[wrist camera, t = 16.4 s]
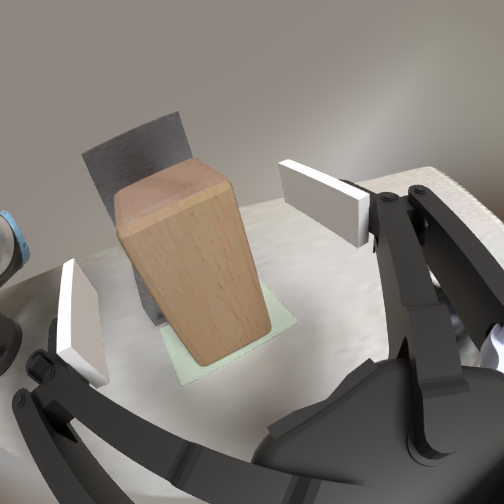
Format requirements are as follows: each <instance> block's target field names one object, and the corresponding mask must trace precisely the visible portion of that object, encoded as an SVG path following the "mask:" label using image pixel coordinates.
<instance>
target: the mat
mask: <svg viewBox="0 0 504 504" xmlns="http://www.w3.org/2000/svg"><path fill="white" fill-rule="evenodd" d="M258 279H259V278H258ZM259 282H260V286H261V289H262V293H263V296H264V300H265V303H266V307H267V310H268V314H269V317H270V321H271V326H272V329H271V331H270V332H269V333H268V334H267V335H265V336H263V337H261V338H260V339H258V340H256V341H254V342H252V343H250V344H249V345H247V346H245V347H243V348H241V349H239V350H237V351H236V352H234V353H232V354H230V355H228V356H226V357H224V358H222V359H220V360H218V361H216V362H214V363H212V364H210V365H208V366H200V365H199V364H198V363H197V362H196V361H195V360H194V358H193V357H192V356H191V354H190V353H189V352H188V350H187V349H186V347H185V346H184V344H183V343H182V342H181V340H180V339H179V337H178V336H177V334H176V333H175V331H174V330H173V329H172V327H171V326H170V324H168V325H166V326H164V327H162V328H160V332H161V335H162V338H163V340H164V343H165V346H166V348H167V351H168V354H169V356H170V359H171V361H172V364H173V367H174V369H175V372H176V374H177V376H178V379H179V381H180V384H181V385H182V386H185V385H187V384H189V383H191V382H193V381H195V380H197V379H199V378H201V377H203V376H204V375H206V374H208V373H210V372H212V371H214V370H216V369H218V368H220V367H222V366H224V365H225V364H227V363H229V362H231V361H233V360H235V359H237V358H238V357H240V356H242V355H244V354H246V353H247V352H249V351H251V350H253V349H254V348H256V347H258V346H260V345H261V344H263V343H265V342H267V341H268V340H270V339H272V338H273V337H275V336H277V335H278V334H280V333H282V332H283V331H285V330H287V329H288V328H290V327H292V326H293V325H295V324H297V323H298V321H297V319H296V318H295V317H294V316H293V315H292V313H291V312H290V311H289V310H288V309H287V308H286V307H285V306H284V305H283V304H282V303H281V302H280V300H279V299H278V298H277V297H276V296H275V295H274V294H273V293H272V292H271V291H270V290H269V289H268V287H267V286H266V285H265V284H264V283H263V282H262V281H261V280H260V279H259Z"/></svg>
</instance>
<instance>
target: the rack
mask: <svg viewBox="0 0 504 504" xmlns="http://www.w3.org/2000/svg"><path fill="white" fill-rule="evenodd" d="M82 157H83V159H84V161H85V163H86V166H87V168H88V170H89V173H90V175H91V177H92V180H93V182H94V184H95V186H96V188H97V190H98V193H99V195H100V197H101V199H102V201H103V203H104V205H105V207H106V209H107V211H108V213H109V215H110V217H111V219H112V221H113V223H114V225H115V227H116V220H115V206H114V196H115V195H116V193H117V192H118V191H119V190H121V189H123V188H125V187H127V186H129V185H131V184H134V183H136V182H138V181H140V180H142V179H144V178H146V177H148V176H151V175H153V174H155V173H157V172H160V171H162V170H164V169H166V168H169V167H171V166H173V165H176V164H178V163H180V162H183V161H185V160H188V159H190V158H193V157H192V153H191V150H190V147H189V144H188V141H187V138H186V135H185V132H184V128H183V125H182V122H181V119H180V116H179V113H178V111H176V112H173V113H170V114H168V115H165V116H162V117H160V118H157V119H155V120H152V121H150V122H147V123H145V124H142V125H140V126H138V127H135V128H133V129H131V130H129V131H127V132H124V133H122V134H120V135H118V136H116V137H114V138H111V139H109V140H107V141H105V142H103V143H101V144H99V145H97V146H95V147H93V148H91V149H89V150H87V151H85V152H84V153H82ZM252 258H253V257H252ZM254 265H255V264H254ZM132 267H133V271H134V275H135V279H136V283H137V287H138V291H139V294H140V298H141V302H142V305H143V308H144V310H145V311H146V313H147V314H148V316H149V317H150V319H151V320H152V321H153V323H154V324H155V326H157V325H159V324H161V323H163V322H165V321H167V320H166V318H165V316H164V315H163V313H162V312H161V310H160V309H159V307H158V306H157V304H156V303H155V301H154V299H152V297H151V295H150V293H149V291H148V290H147V288H146V286H145V285H144V283H143V281H142V280H141V278H140V276H139V275H138V273H137V271H136V270H135V268H134V266H133V264H132ZM256 272H257V271H256Z"/></svg>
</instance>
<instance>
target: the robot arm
mask: <svg viewBox="0 0 504 504" xmlns="http://www.w3.org/2000/svg"><path fill="white" fill-rule="evenodd" d="M278 164H279V170H280V176H281V181H282V187H283V192H284V198H285V202H287V203H288V204H290V205H291V206H293V207H295V208H296V209H298V210H300V211H301V212H303V213H304V214H306V215H308V216H309V217H311V218H312V219H314V220H315V221H317V222H319V223H320V224H322V225H323V226H325V227H326V228H328V229H329V230H331V231H333V232H334V233H336V234H337V235H339V236H340V237H342V238H343V239H345V240H346V241H348V242H349V243H351V244H352V245H354V246H355V247H357V248H360V247H361V246H363V245H364V244H366V243H367V242H368V239H369V232H370V233H372V234H373V235H374V246H373V253H375V250H376V255H377V260H378V266H379V272H380V278H381V284H382V291H383V298H384V305H385V313H386V321H387V331H388V341H389V357H388V359H387V360H382V361H379V362H376V363H374V362H373V361H372V360H371V359H370V358H369V359H368V360H366V361H365V362H364V363H363V364H361V365H360V366H359V367H357V368H356V369H355V370H353V371H352V372H351V373H349V374H348V375H347V376H346V377H345V379H344V380H343V381H342V382H341V383H340V385H339V386H338V387H337V388H336V389H335V390H334V392H333V393H332V394H331V395H330V396H329V397H328V398H327V399H326V400H324V401H321V402H318V403H316V404H313V405H310V406H308V407H305V408H302V409H299V410H296V411H294V412H292V413H290V414H289V415H287V416H285V417H284V418H282V419H280V420H279V421H277V422H275V423H274V424H272V425H270V426H268V427H267V429H268V430H269V432H270V433H271V434H268V435H267V436H266V437H265V438H264V440H263V441H262V442H261V443H260V444H259V446H258V448H257V449H256V451H255V453H254V455H253V457H252V461H251V463H248V462H245V461H242V460H239V459H236V458H233V457H231V456H228V455H225V454H222V453H220V452H217V451H214V450H212V449H209V448H207V447H204V446H202V445H199V444H197V443H194V442H189V441H187V440H185V439H182V438H180V437H178V436H176V435H174V434H172V433H170V432H167V431H165V430H163V429H161V428H159V427H157V426H156V425H154V424H152V423H150V422H148V421H146V420H144V419H142V418H141V417H139V416H137V415H135V414H133V413H132V412H130V411H128V410H126V409H125V408H123V407H121V406H120V405H118V404H116V403H115V402H113V401H112V400H110V399H108V398H107V397H105V396H104V395H102V394H101V393H99V392H98V391H96V390H95V389H93V388H92V387H90V386H89V383H90V384H92V385H93V386H94V387H95V388H96V389H97V388H99V387H101V386H103V385H106V384H108V383H110V381H109V376H108V370H107V365H106V359H105V353H104V346H103V339H102V331H101V323H100V314H99V303H98V293H97V292H96V290H95V289H94V287H93V286H92V284H91V283H90V281H89V280H88V279H87V277H86V276H85V274H84V273H83V271H82V270H81V268H80V266H79V265H78V263H77V262H76V260H75V259H74V258H73V259H71V260H70V261H68V262H66V263H64V264H63V271H62V279H61V287H60V297H59V308H58V317H57V318H55V319H54V320H52V323H51V325H50V328H49V338H48V344H49V345H48V353H47V352H46V351H45V350H43V349H40V350H37V351H35V352H34V353H33V354H32V355H31V356H30V358H29V359H28V361H27V365H26V372H27V374H28V375H29V376H30V377H31V378H32V379H33V380H34V381H36V382H37V383H38V384H39V386H38V387H37V388H36V389H35V390H33V391H32V392H29V391H28V390H27V389H24V388H22V389H20V390H18V391H17V392H16V394H15V395H14V398H13V400H12V409H13V412H14V415H15V418H16V420H17V423H18V425H19V428H20V430H21V432H22V435H23V437H24V439H25V442H26V444H27V446H28V448H29V450H30V452H31V454H32V456H33V458H34V460H35V462H36V464H37V466H38V468H39V470H40V472H41V474H42V475H43V477H44V479H45V480H46V482H47V484H48V486H49V487H50V489H51V491H52V492H53V494H54V496H55V497H56V499H57V500H58V502H59V503H60V504H135V503H133V501H132V500H130V498H129V497H128V496H127V495H126V494H125V493H124V492H123V491H122V490H121V489H120V488H119V486H118V485H117V484H116V483H115V482H114V481H113V480H112V479H111V477H110V476H109V475H108V474H107V473H106V471H105V470H104V469H103V468H102V467H101V465H100V464H99V463H98V461H97V460H96V459H95V458H94V456H93V455H92V454H91V452H90V451H89V450H88V448H87V447H86V446H85V444H84V443H83V441H82V440H81V439H80V437H79V436H78V434H77V433H76V431H75V430H74V428H73V427H72V425H71V424H70V421H71V420H72V419H73V418H76V419H78V420H79V421H80V422H81V423H82V424H84V425H85V426H86V427H87V428H89V429H90V430H91V431H92V432H94V433H95V434H96V435H98V436H99V437H100V438H102V439H103V440H104V441H106V442H107V443H108V444H110V445H111V446H113V447H114V448H115V449H117V450H118V451H120V452H121V453H123V454H124V455H126V456H127V457H129V458H130V459H132V460H133V461H135V462H137V463H138V464H140V465H141V466H143V467H145V468H146V469H148V470H150V471H152V472H153V473H155V474H157V475H159V476H160V477H162V478H164V479H166V480H167V481H169V482H170V483H171V484H172V485H173V486H175V487H176V488H178V489H180V490H182V491H184V492H186V493H188V494H190V495H192V496H194V497H197V498H199V499H201V500H203V501H206V502H208V503H210V504H504V270H503V268H502V267H501V266H500V265H499V263H498V262H497V261H496V259H495V258H494V257H493V256H492V255H491V253H490V252H489V251H488V250H487V249H486V247H485V246H484V245H483V244H482V243H481V242H480V240H479V239H478V238H477V237H476V236H475V235H474V234H473V232H472V231H471V230H470V229H469V228H468V227H467V226H466V225H465V224H464V223H463V222H462V221H461V220H460V218H459V217H458V216H457V215H456V214H455V213H454V212H453V211H452V210H451V209H450V208H449V207H448V206H447V205H446V204H445V203H444V202H443V201H442V200H441V199H440V198H439V197H437V196H436V195H435V194H434V193H433V192H432V191H431V190H430V189H429V188H427V187H425V186H423V185H413V186H410V187H409V190H408V195H407V196H403V197H399V196H398V195H397V194H395V193H391V192H381V193H379V194H376V193H374V192H372V191H369V190H367V189H365V188H363V187H360V186H359V185H355V184H354V183H352V182H350V181H346V180H341V179H335V178H333V177H331V176H328V175H326V174H324V173H321V172H319V171H316V170H314V169H312V168H309V167H306V166H304V165H302V164H299V163H297V162H294V161H292V160H289V159H288V160H285V161H282V162H280V163H278ZM427 224H428V225H427ZM29 257H30V252H29V248H28V246H27V244H26V242H25V239H24V237H23V235H22V233H21V231H20V229H19V227H18V226H17V224H16V222H15V221H14V219H13V217H12V216H11V215H10V214H9V213H8V212H7V211H2V212H1V213H0V288H1V287H2V286H3V284H4V283H6V282H7V281H8V280H9V279H10V278H11V277H12V276H13V275H14V274H15V273H16V272H17V271H18V270H20V269H21V268H22V267H23V266H24V264H25V263H26V262H27V261H28V260H29ZM427 265H428V267H429V268H430V270H431V271H432V273H433V274H434V276H435V278H436V279H437V281H438V282H439V284H440V286H441V287H442V289H443V291H444V292H445V294H446V295H447V297H448V299H449V301H450V302H451V304H452V306H453V307H454V309H455V311H456V313H457V315H458V316H459V318H460V320H461V322H462V324H463V326H464V327H465V329H466V331H467V333H468V335H469V336H470V338H471V340H472V342H473V343H474V344H475V346H476V347H477V349H478V350H479V351H480V352H481V360H480V367H470V366H461V361H460V356H459V351H458V347H457V342H456V338H455V334H454V330H453V326H452V322H451V318H450V314H449V311H448V308H447V306H446V304H445V303H439V302H438V299H437V296H436V292H435V289H434V286H433V282H432V279H431V276H430V273H429V270H428V267H427ZM20 342H21V329H20V328H19V327H18V325H17V324H16V323H15V322H14V321H13V320H11V319H9V318H7V317H5V316H4V315H2V314H1V313H0V375H1V374H2V373H3V372H4V371H5V370H6V369H7V368H8V367H9V365H10V364H11V363H12V361H13V359H14V358H15V356H16V354H17V351H18V349H19V346H20ZM272 436H273V437H272Z"/></svg>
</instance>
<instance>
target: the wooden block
mask: <svg viewBox="0 0 504 504" xmlns="http://www.w3.org/2000/svg"><path fill="white" fill-rule="evenodd" d="M114 206H115V220H116V231H117V237H118V239H119V241H120V243H121V245H122V247H123V248H124V250H125V252H126V254H127V256H128V257H129V259H130V261H131V263H132V264H133V266H134V268H135V270H136V271H137V273H138V275H139V276H140V278H141V280H142V281H143V283H144V285H145V286H146V288H147V290H148V291H149V293H150V295H151V296H152V298H153V299H154V301H155V303H156V304H157V306H158V307H159V309H160V310H161V312H162V313H163V315H164V316H165V318H166V320H167V321H168V323H169V324H170V326H171V327H172V329H173V330H174V331H175V333H176V334H177V336H178V337H179V339H180V340H181V342H182V343H183V344H184V346H185V347H186V349H187V350H188V352H189V353H190V354H191V356H192V357H193V358H194V360H195V361H196V362H197V363H198V364H199V365H200V366H208V365H210V364H212V363H214V362H216V361H218V360H220V359H222V358H224V357H226V356H228V355H230V354H232V353H234V352H236V351H237V350H239V349H241V348H243V347H245V346H247V345H249V344H250V343H252V342H254V341H256V340H258V339H260V338H261V337H263V336H265V335H267V334H268V333H269V332H270V331H271V329H272V326H271V321H270V317H269V314H268V310H267V307H266V303H265V300H264V296H263V293H262V289H261V286H260V282H259V279H258V275H257V272H256V268H255V265H254V261H253V258H252V254H251V251H250V247H249V243H248V240H247V236H246V233H245V229H244V226H243V222H242V219H241V215H240V212H239V208H238V205H237V201H236V198H235V194H234V191H233V187H232V184H231V182H230V181H229V180H228V179H227V178H226V177H225V176H224V175H222V174H220V173H219V172H218V171H216V170H215V169H213V168H212V167H210V166H209V165H207V164H205V163H204V162H202V161H201V160H199V159H198V158H190V159H188V160H185V161H183V162H180V163H178V164H176V165H173V166H171V167H169V168H166V169H164V170H162V171H160V172H157V173H155V174H153V175H151V176H148V177H146V178H144V179H142V180H140V181H138V182H136V183H134V184H131V185H129V186H127V187H125V188H123V189H121V190H119V191H118V192H117V193H116V195H115V196H114Z"/></svg>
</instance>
